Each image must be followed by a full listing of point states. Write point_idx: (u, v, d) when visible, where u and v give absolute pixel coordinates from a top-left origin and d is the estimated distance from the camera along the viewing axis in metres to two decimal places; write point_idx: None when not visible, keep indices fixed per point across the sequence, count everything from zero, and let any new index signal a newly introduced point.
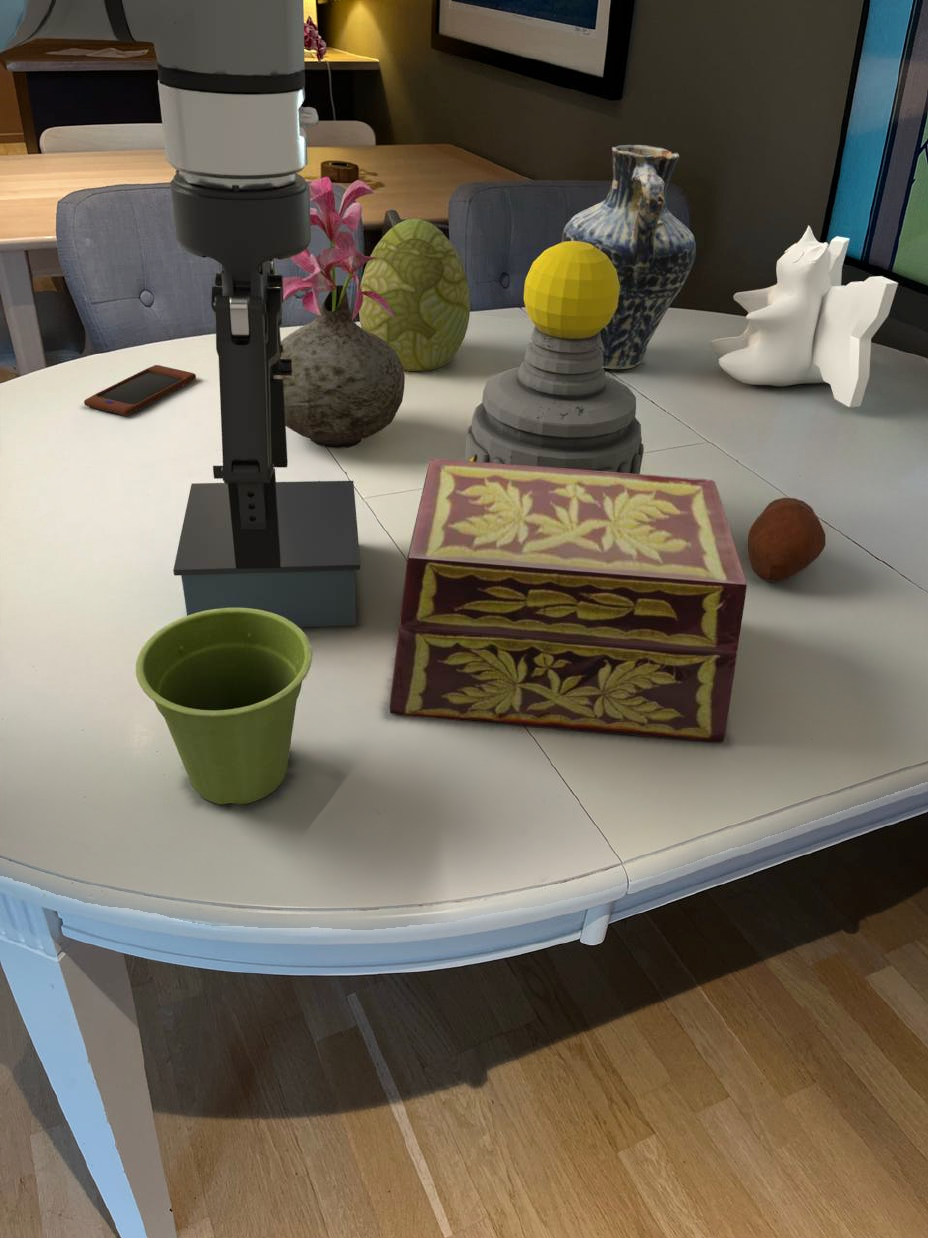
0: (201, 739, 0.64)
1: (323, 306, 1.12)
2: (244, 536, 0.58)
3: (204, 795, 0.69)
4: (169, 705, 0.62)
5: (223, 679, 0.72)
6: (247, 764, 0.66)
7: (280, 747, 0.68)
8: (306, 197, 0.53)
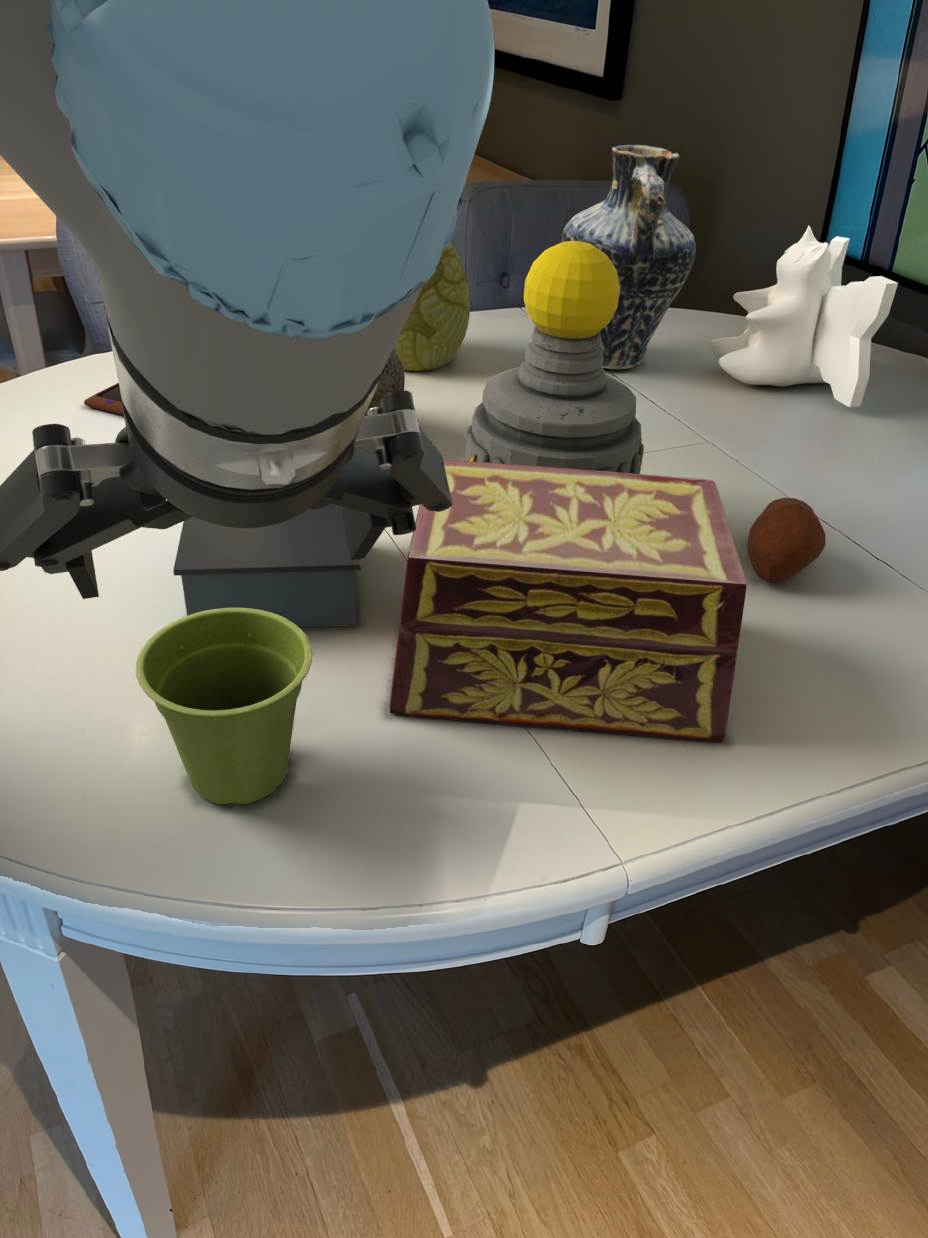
0: (201, 739, 0.64)
1: None
2: None
3: (204, 795, 0.69)
4: (169, 705, 0.62)
5: (223, 679, 0.72)
6: (247, 764, 0.66)
7: (280, 747, 0.68)
8: (231, 505, 0.30)
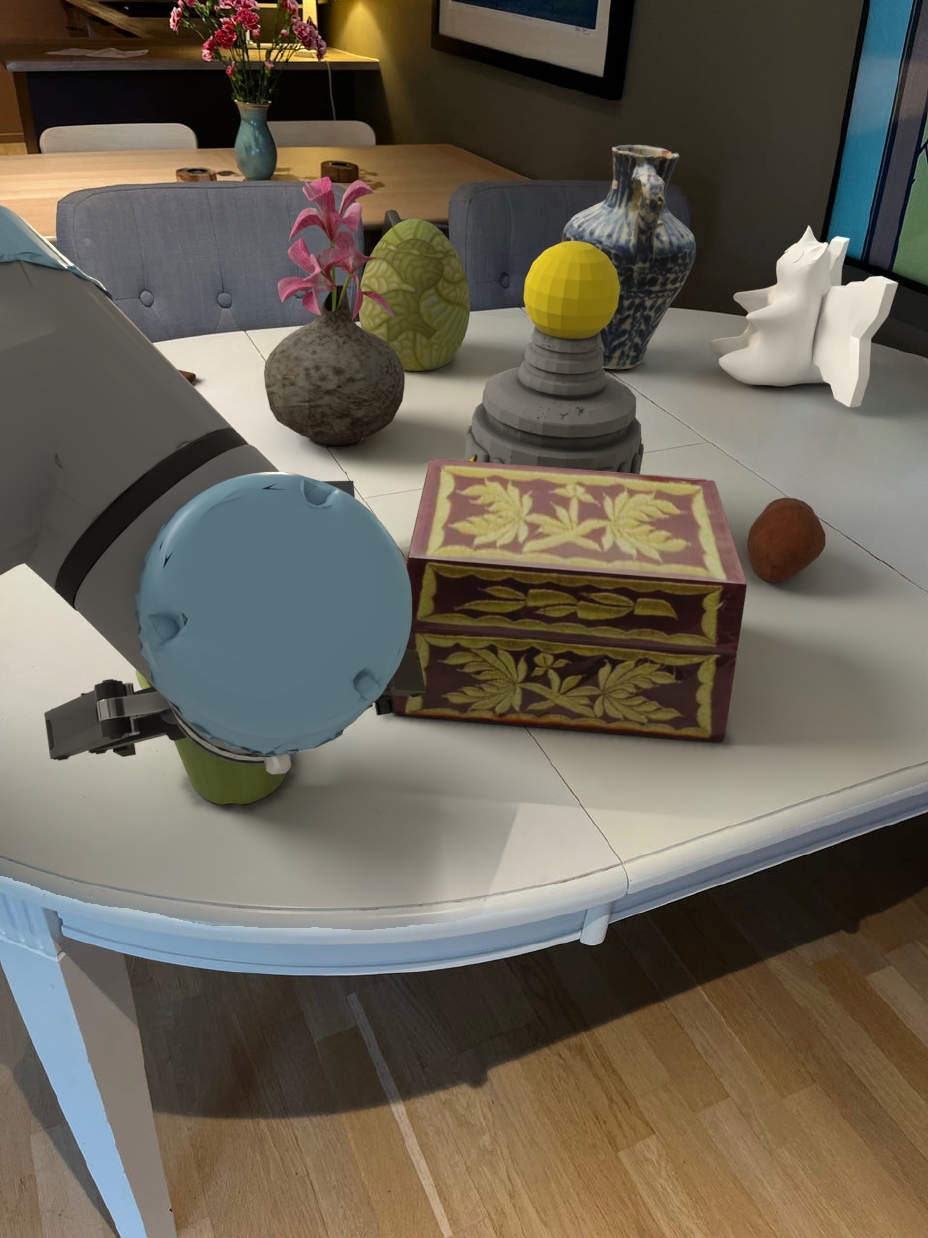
0: None
1: (323, 306, 1.12)
2: None
3: (204, 795, 0.69)
4: None
5: None
6: None
7: None
8: (244, 763, 0.40)
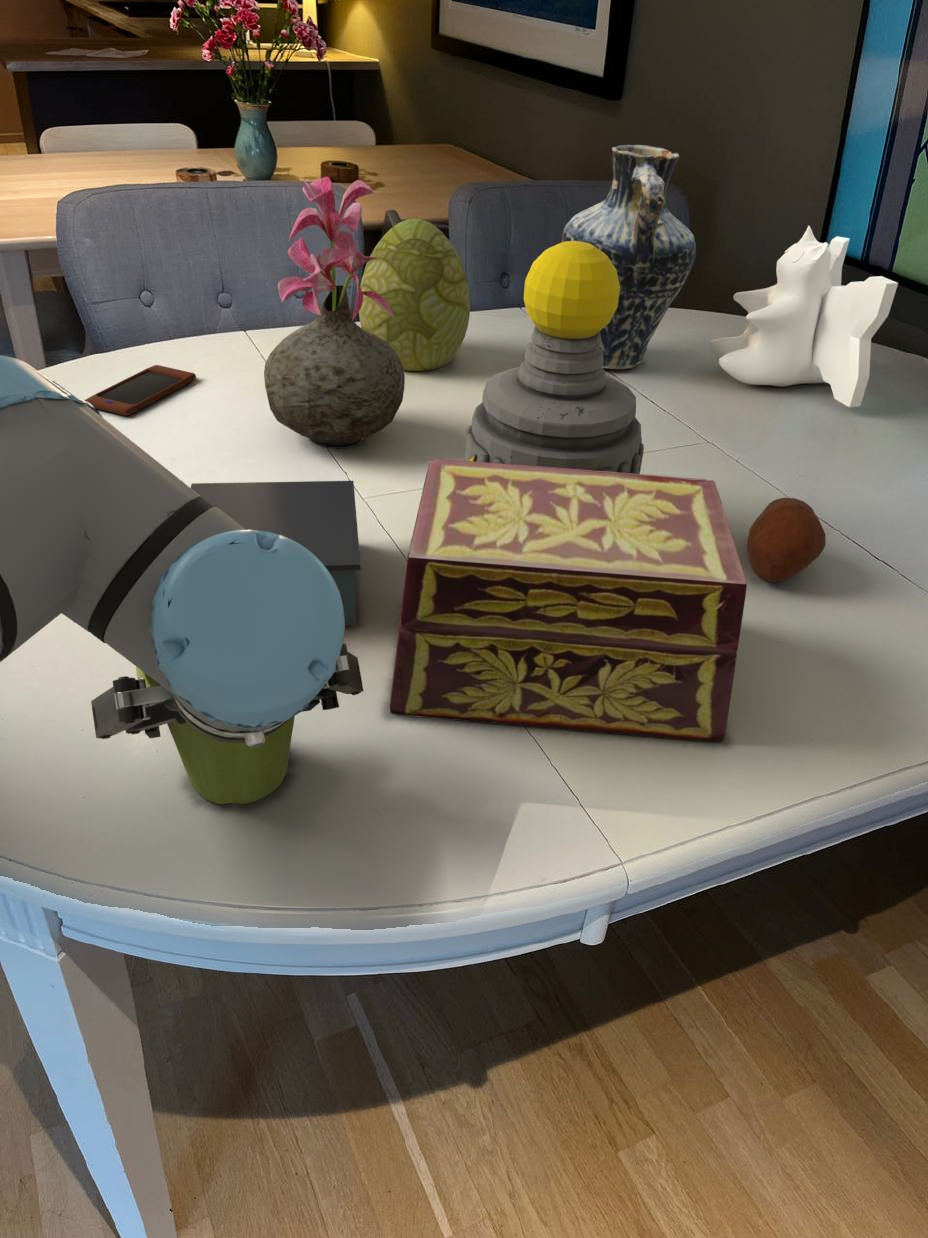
0: (201, 739, 0.64)
1: (323, 306, 1.12)
2: None
3: (204, 795, 0.69)
4: None
5: None
6: (247, 764, 0.66)
7: (281, 747, 0.68)
8: (230, 740, 0.51)
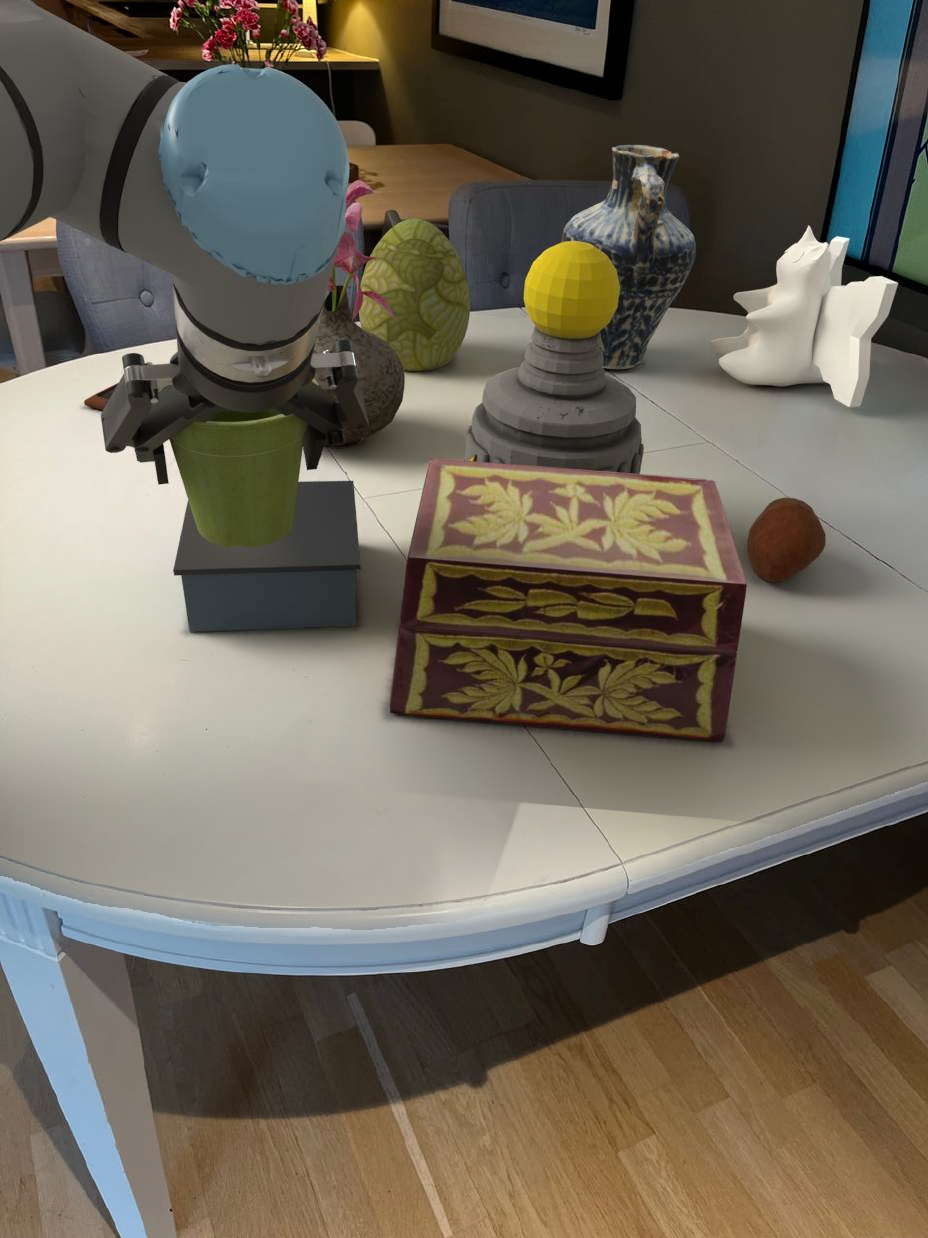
0: (209, 461, 0.65)
1: (323, 306, 1.12)
2: None
3: (211, 538, 0.70)
4: None
5: None
6: (254, 496, 0.67)
7: (287, 485, 0.69)
8: (237, 393, 0.52)
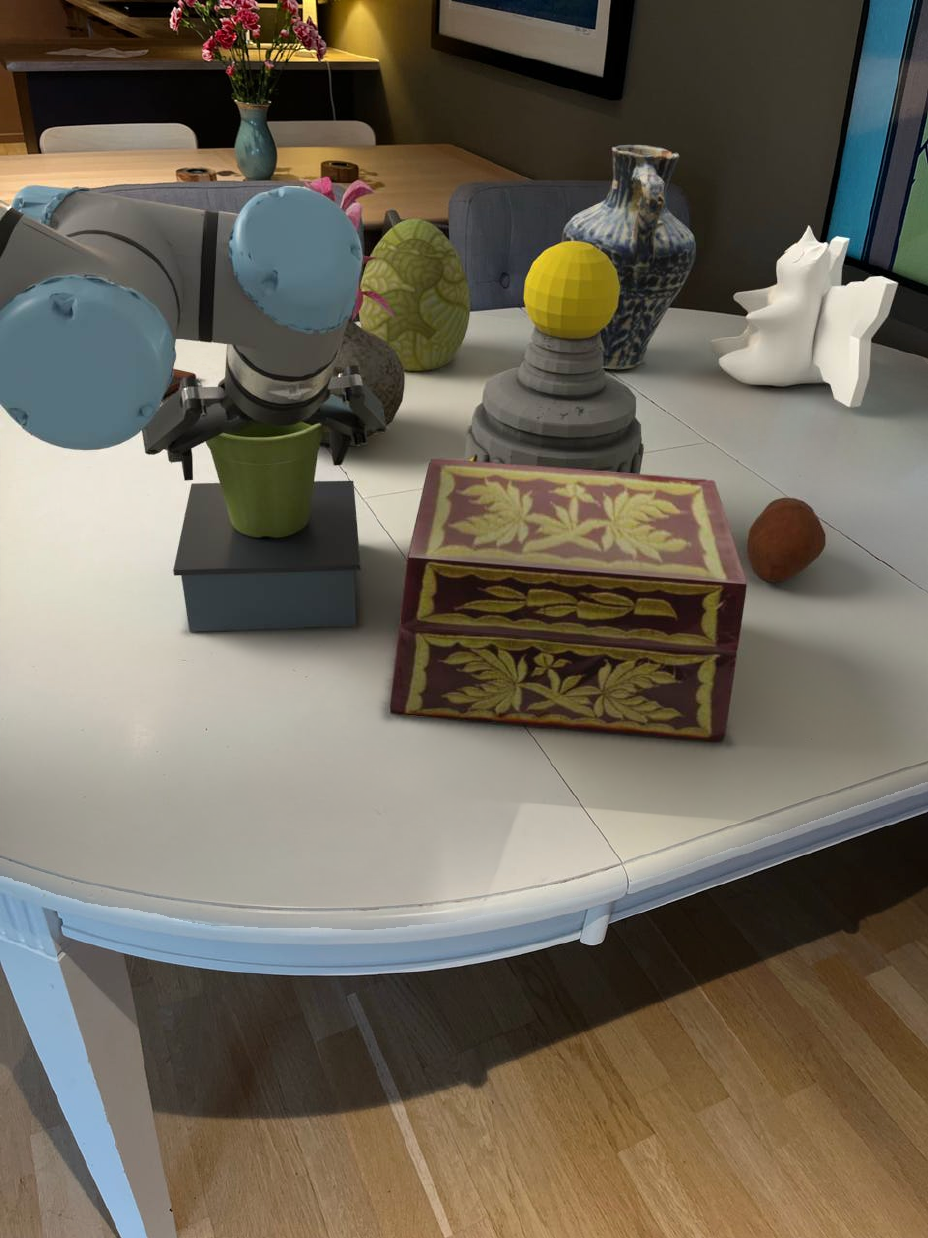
0: (244, 468, 0.81)
1: None
2: None
3: (243, 530, 0.86)
4: None
5: None
6: (279, 496, 0.83)
7: (305, 487, 0.85)
8: (273, 412, 0.68)
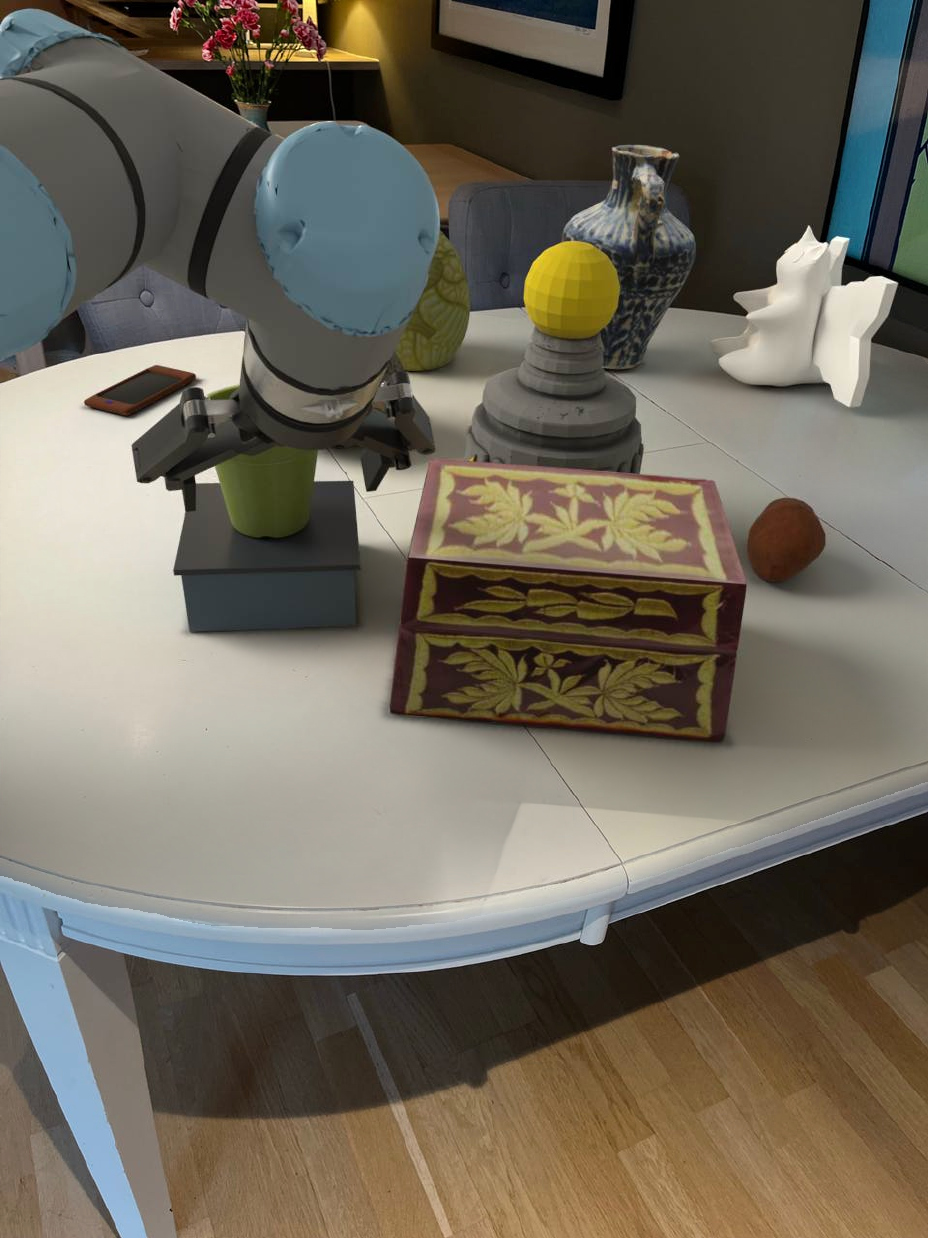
0: (244, 468, 0.81)
1: None
2: None
3: (243, 530, 0.86)
4: None
5: None
6: (279, 496, 0.83)
7: (305, 487, 0.85)
8: (303, 433, 0.52)
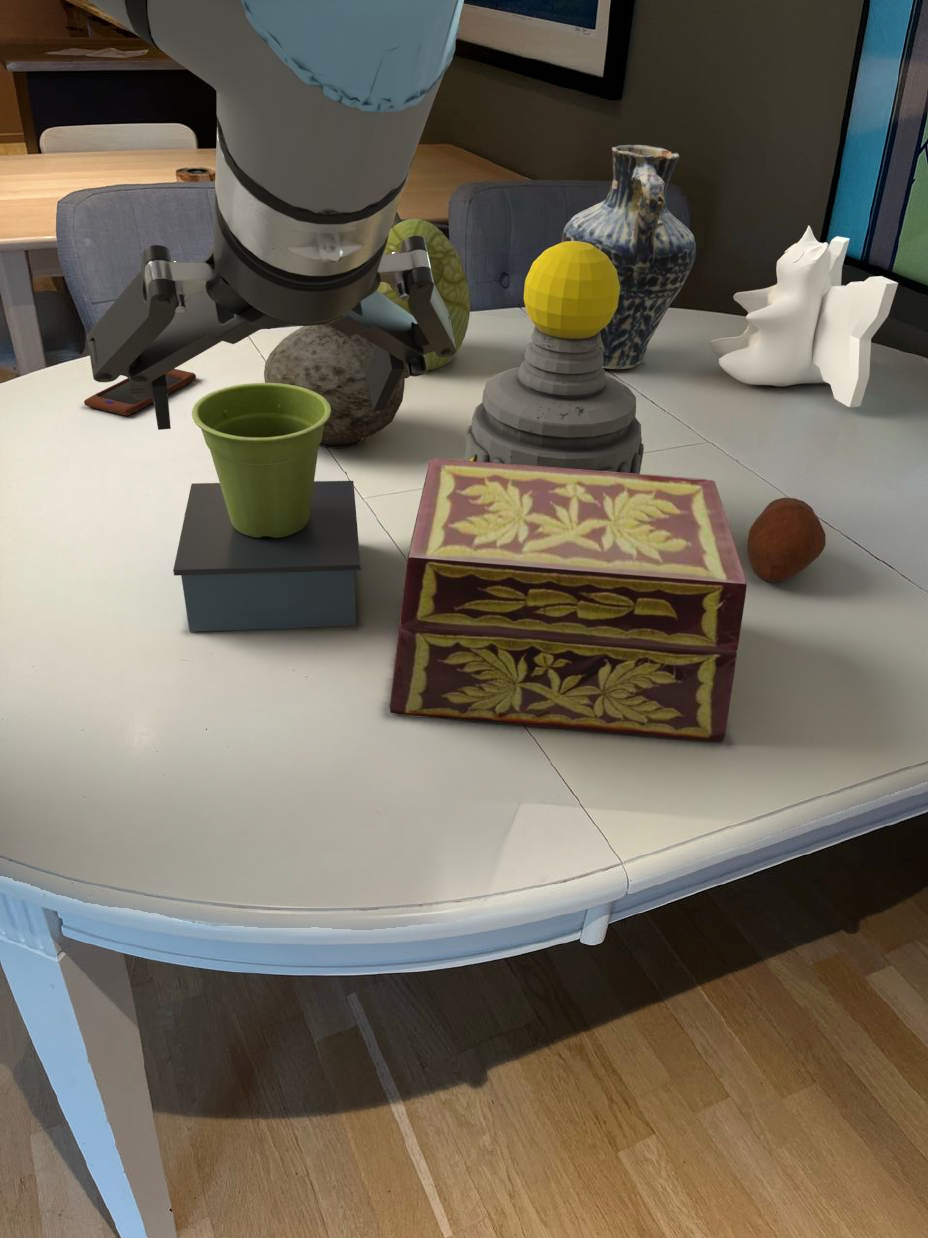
0: (244, 468, 0.81)
1: None
2: None
3: (243, 530, 0.86)
4: (220, 433, 0.79)
5: None
6: (279, 496, 0.83)
7: (305, 487, 0.85)
8: (293, 293, 0.41)
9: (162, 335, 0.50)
